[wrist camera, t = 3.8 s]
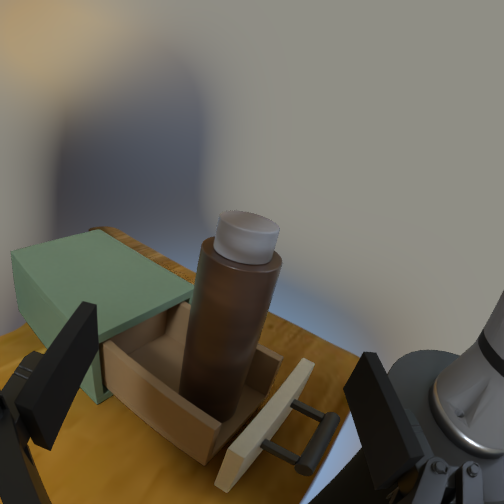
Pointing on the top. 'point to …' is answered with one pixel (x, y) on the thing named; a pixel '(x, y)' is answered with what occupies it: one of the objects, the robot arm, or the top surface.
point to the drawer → (195, 420)
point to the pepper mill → (228, 311)
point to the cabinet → (92, 290)
